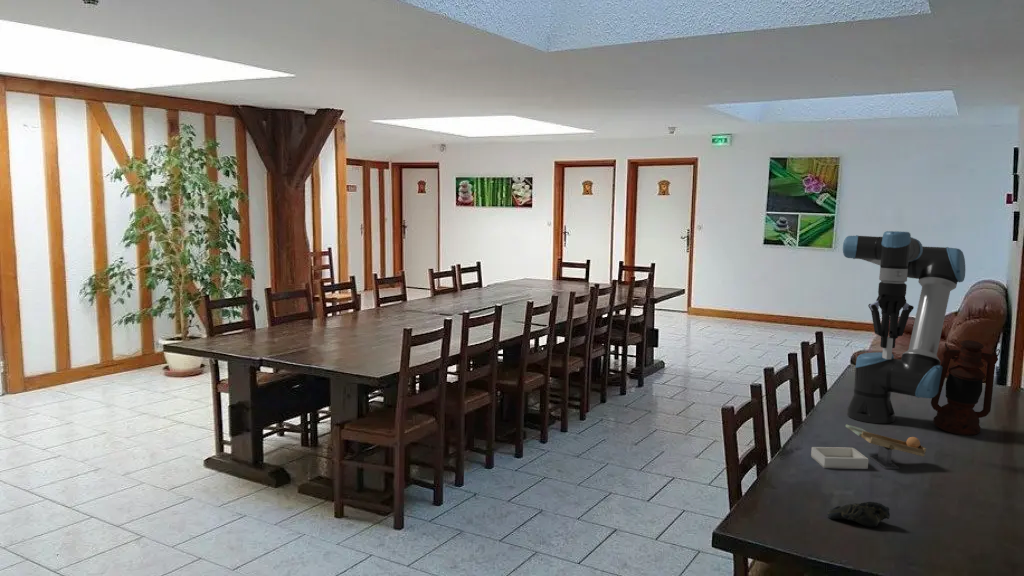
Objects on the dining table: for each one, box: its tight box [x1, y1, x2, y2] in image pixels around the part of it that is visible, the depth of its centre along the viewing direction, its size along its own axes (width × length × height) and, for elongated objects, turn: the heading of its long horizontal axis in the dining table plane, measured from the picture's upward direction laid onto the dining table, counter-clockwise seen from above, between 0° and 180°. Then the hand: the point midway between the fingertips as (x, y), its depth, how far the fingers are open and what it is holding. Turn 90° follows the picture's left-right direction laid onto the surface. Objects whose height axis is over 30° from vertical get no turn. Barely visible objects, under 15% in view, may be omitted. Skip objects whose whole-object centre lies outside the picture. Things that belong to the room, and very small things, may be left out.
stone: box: [826, 501, 891, 528], centre depth 171 cm, size 7×13×5 cm, turn 71°
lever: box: [845, 424, 927, 457], centre depth 213 cm, size 16×16×2 cm
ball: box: [905, 436, 921, 448], centre depth 209 cm, size 4×4×4 cm
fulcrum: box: [869, 445, 900, 470], centre depth 210 cm, size 9×4×5 cm, turn 179°
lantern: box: [930, 339, 1001, 436], centre depth 238 cm, size 17×14×30 cm
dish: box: [810, 446, 869, 470], centre depth 210 cm, size 9×12×3 cm
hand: (886, 358), depth 221 cm, fingers closed
